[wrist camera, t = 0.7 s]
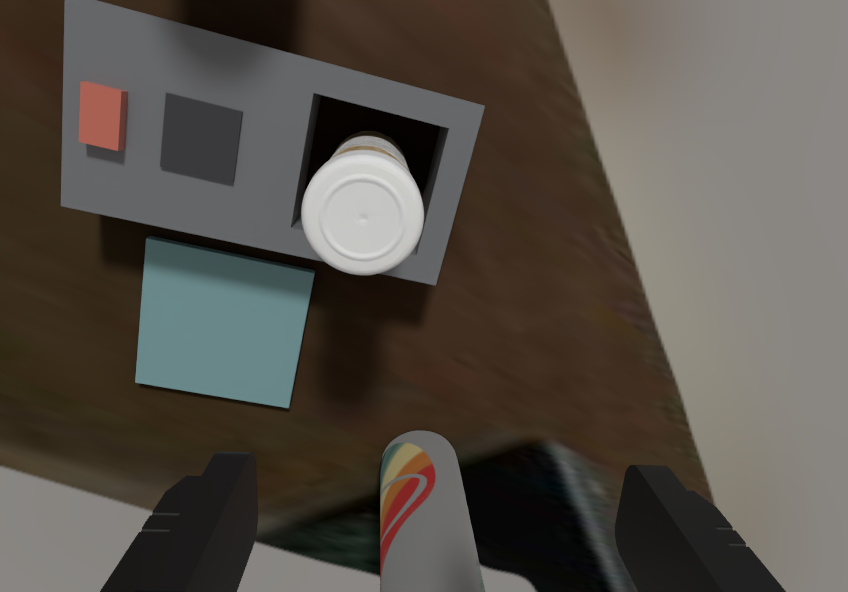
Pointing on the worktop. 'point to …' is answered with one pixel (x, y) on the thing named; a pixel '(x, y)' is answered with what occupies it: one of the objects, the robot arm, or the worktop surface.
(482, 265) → the worktop surface
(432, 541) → the lotion bottle
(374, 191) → the sprinkles bottle
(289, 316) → the mat
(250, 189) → the power strip
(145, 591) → the robot arm
